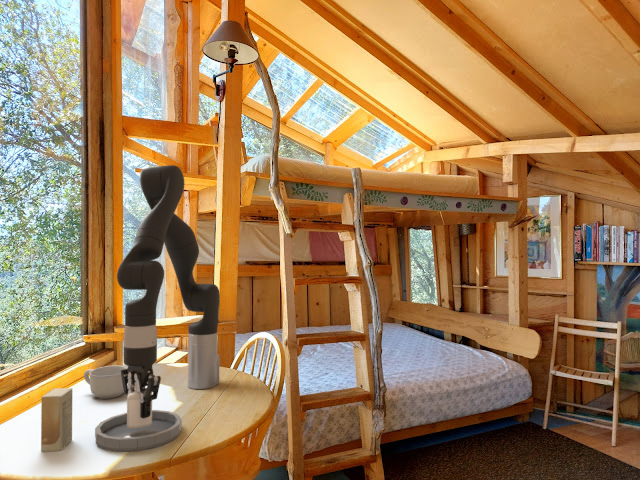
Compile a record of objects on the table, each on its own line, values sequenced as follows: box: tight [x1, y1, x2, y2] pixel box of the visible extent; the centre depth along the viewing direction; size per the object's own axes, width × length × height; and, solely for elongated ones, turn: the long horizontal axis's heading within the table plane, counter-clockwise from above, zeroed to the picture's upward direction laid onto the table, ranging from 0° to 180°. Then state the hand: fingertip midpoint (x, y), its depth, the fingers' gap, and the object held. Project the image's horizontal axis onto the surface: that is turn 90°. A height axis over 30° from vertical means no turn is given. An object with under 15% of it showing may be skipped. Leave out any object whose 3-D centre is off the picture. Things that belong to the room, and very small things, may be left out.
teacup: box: [83, 365, 128, 400], centre depth 145 cm, size 14×11×8 cm
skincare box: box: [40, 387, 73, 452], centre depth 108 cm, size 6×4×12 cm
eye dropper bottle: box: [126, 382, 153, 429], centre depth 114 cm, size 4×6×12 cm
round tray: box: [94, 409, 183, 453], centre depth 114 cm, size 19×19×3 cm
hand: (139, 414), depth 114 cm, fingers closed on eye dropper bottle, 4 cm apart
